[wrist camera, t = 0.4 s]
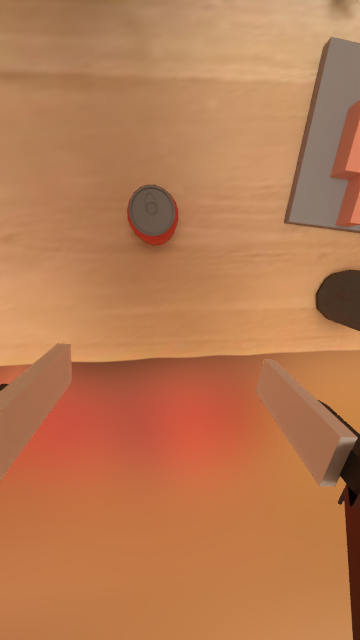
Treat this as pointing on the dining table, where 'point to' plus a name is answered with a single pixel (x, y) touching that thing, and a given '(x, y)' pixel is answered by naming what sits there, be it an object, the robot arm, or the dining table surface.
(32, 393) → the robot arm
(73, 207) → the dining table surface
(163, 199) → the beer can
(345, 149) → the square nut
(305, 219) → the board
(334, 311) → the bottle
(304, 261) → the dining table surface
